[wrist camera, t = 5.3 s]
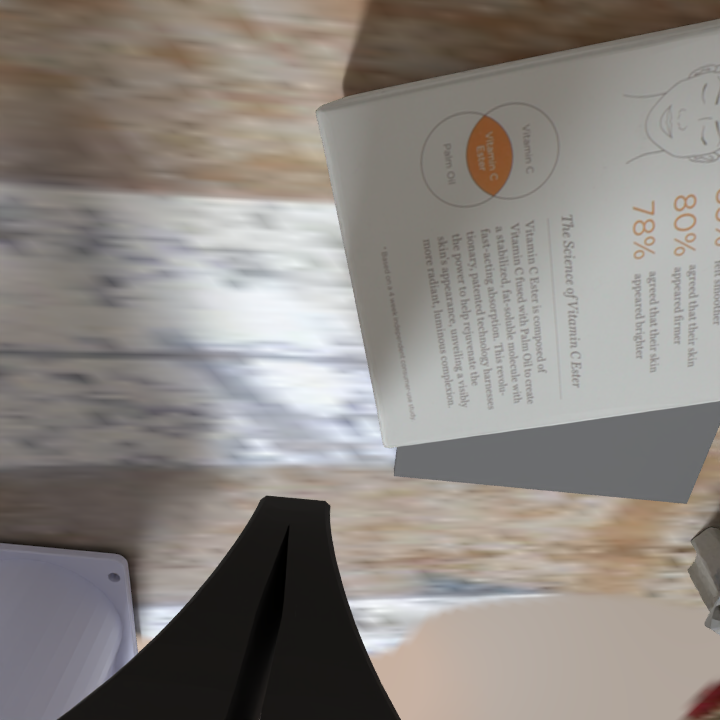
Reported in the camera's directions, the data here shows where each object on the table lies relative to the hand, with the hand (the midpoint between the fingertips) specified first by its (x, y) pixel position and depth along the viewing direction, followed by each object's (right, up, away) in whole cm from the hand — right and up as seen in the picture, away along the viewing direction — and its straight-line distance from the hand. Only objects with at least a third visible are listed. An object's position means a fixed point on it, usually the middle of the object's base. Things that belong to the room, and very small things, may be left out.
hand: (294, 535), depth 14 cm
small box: (+1, +6, +4) cm, 7 cm away
